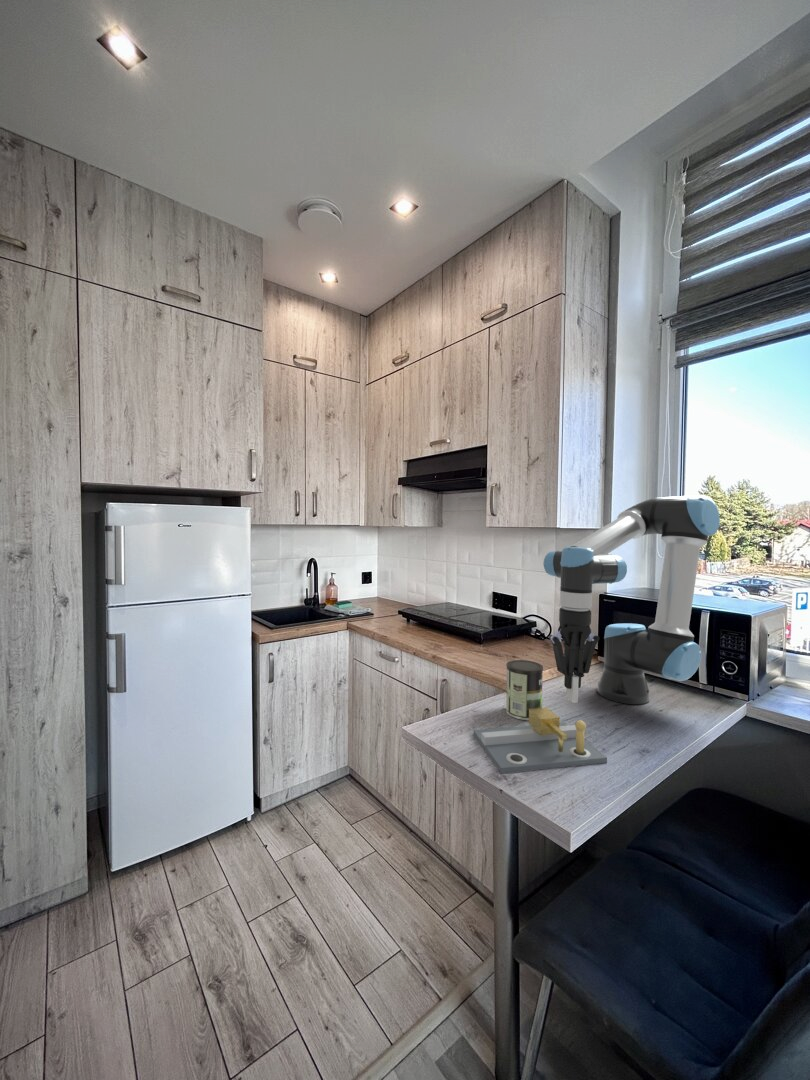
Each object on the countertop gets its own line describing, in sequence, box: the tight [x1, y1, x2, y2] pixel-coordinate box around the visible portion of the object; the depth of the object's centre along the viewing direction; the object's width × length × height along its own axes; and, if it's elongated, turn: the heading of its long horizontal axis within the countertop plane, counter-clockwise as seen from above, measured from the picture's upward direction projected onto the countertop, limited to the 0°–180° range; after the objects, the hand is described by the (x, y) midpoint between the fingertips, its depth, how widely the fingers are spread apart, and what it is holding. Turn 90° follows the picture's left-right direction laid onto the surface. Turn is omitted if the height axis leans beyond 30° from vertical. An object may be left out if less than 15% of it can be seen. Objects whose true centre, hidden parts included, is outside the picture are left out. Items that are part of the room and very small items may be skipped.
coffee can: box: [505, 659, 544, 721], centre depth 125 cm, size 10×10×14 cm
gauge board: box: [472, 719, 608, 774], centre depth 106 cm, size 26×18×9 cm
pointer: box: [528, 707, 567, 752], centre depth 105 cm, size 5×12×6 cm, turn 11°
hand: (572, 700), depth 109 cm, fingers closed
